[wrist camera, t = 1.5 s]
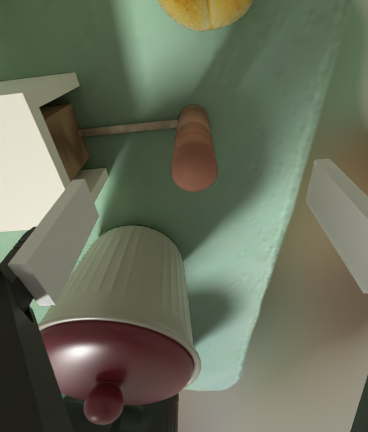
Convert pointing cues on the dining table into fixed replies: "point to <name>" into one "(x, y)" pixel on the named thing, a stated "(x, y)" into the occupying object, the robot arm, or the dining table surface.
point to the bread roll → (205, 12)
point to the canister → (123, 325)
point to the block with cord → (185, 136)
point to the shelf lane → (33, 152)
